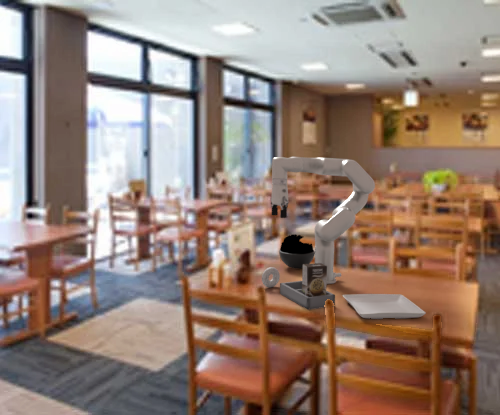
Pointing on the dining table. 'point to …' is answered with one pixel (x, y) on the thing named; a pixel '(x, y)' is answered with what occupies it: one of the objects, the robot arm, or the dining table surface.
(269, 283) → the donut
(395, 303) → the square plate
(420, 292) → the dining table surface
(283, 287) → the caddy
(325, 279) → the coffee box
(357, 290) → the dining table surface
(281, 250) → the bowl of black rocks
